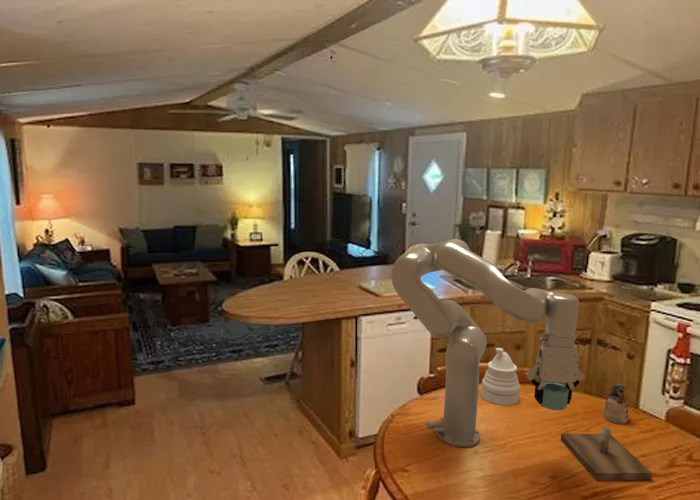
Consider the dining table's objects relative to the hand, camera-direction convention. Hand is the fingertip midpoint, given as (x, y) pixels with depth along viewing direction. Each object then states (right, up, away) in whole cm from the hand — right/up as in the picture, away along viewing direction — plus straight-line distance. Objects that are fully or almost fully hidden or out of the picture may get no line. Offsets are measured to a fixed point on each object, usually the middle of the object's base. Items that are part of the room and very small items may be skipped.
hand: (552, 401), depth 142 cm
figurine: (+31, -14, +27) cm, 44 cm away
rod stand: (+16, -17, +4) cm, 24 cm away
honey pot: (-3, -11, +41) cm, 43 cm away
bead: (0, -1, 0) cm, 1 cm away
